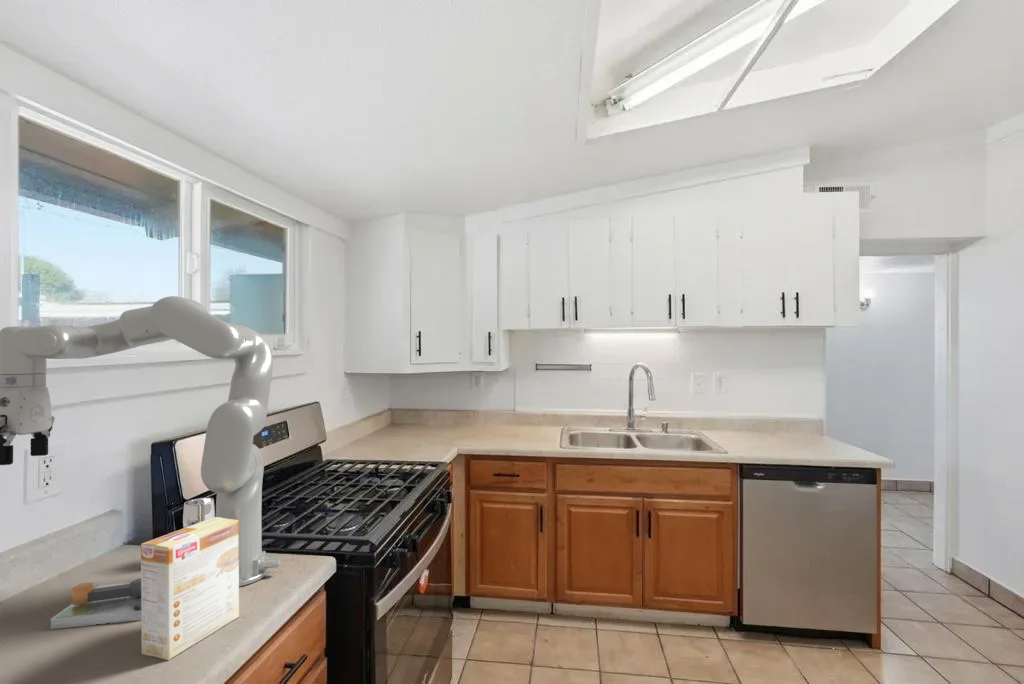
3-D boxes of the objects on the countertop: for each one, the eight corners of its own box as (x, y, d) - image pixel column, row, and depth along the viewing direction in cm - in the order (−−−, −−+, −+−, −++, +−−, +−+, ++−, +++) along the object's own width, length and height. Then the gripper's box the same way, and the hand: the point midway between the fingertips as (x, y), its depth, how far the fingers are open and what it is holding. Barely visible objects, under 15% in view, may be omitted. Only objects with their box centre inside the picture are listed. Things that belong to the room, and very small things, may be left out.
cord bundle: (192, 583, 114) (192, 569, 114) (153, 622, 97) (153, 606, 97) (172, 585, 113) (172, 571, 113) (129, 625, 97) (129, 608, 97)
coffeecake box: (213, 611, 101) (213, 516, 102) (240, 617, 99) (240, 519, 100) (138, 654, 87) (138, 542, 87) (168, 661, 85) (168, 547, 85)
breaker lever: (153, 587, 107) (153, 573, 107) (146, 595, 103) (146, 580, 104) (77, 598, 103) (77, 583, 103) (68, 606, 99) (68, 591, 99)
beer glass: (220, 556, 129) (220, 499, 130) (194, 567, 123) (194, 506, 123) (203, 552, 132) (203, 496, 133) (176, 562, 126) (176, 503, 126)
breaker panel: (177, 587, 112) (177, 577, 112) (142, 620, 98) (142, 608, 98) (97, 594, 109) (97, 584, 109) (50, 629, 96) (50, 617, 96)
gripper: (9, 384, 102) (8, 467, 101) (70, 380, 119) (69, 451, 118) (-33, 385, 100) (-35, 469, 100) (34, 380, 117) (33, 453, 117)
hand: (22, 459), depth 109 cm, fingers open, 9 cm apart
